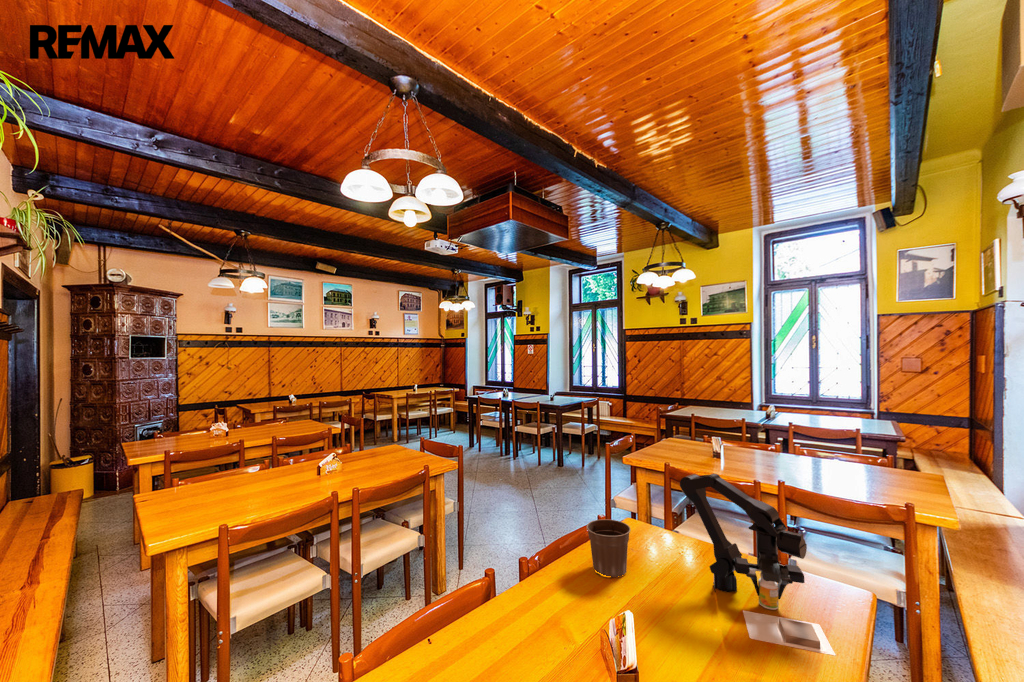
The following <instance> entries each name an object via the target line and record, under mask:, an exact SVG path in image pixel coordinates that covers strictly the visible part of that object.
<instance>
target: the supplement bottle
mask: <svg viewBox="0 0 1024 682" xmlns="http://www.w3.org/2000/svg"><path fill="white" fill-rule="evenodd" d="M759 576H760V577H759V579H757V582H758V588H759V596H758V604H759V605H760V606H762V607H763V608H764V609H766V610H767V609H768V610H771V611H772V610H774V611H775V610H778V609H779V606H780V603H779V599H778V583H776V582H773V581H765V580H764V579H763V577H762V572H761V571H760V575H759Z"/></svg>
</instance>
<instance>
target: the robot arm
mask: <svg viewBox="0 0 1024 682" xmlns="http://www.w3.org/2000/svg"><path fill="white" fill-rule="evenodd" d="M679 487H680V489H681V491H682V492H683V494H684V495H685V497H686V498H687V499H688V500H690V501H691V502H692V504H693V506H694V507H695V509H696V511H697V513H698V515H699V518H700V519H701V522H702V524H703V525H704V528H705V530H706V532H707V535H709V538H710V540H711V543H712V546H713V556H714V558H715V562H714V563H712V564H711V565H709V570H710V572H711V574H713V583H712V584H714V585H713V589H714V593H716V590H719V591H720V592H724V593H732V592H734V593H735V592H736V593H737V592H738V581H737V580H738V579H737V576H736V575H735V573H736V574H741V575H745V576H746V577H747V578H750V579H751V581H752V584H753V586H754V589H755V591H756V595H757V596H758V597H759V588H758V576H757V574H756V572H760V573H761V572H762V577H763V579H764V580H765V581H773V582H776V583H777V584H778V600H781V598H782V596H783V593H784V590H785V589H786V587H787V586H788V585H793V583H798V584H804V583H805V575H804V573H803V571H802V569H801V568H800V567H799V566H798V565H792V564H785V565H783V564H780V562H779V557H778V551H780V552H781V553H783V554H787V555H790V556H792V557H794V558H795V557H796V558H798V559H801V560H803V559H805V557H806V554H807V547H808V546H807V542H806V540H805V539H804V534H801V533H797V532H793V531H789V530H787V529H788V527H787V526H786V525H785V523H784V521H783V520H782V519H781V517H780V516H779V513H778V510H777V509H776V508H775V507H774V506H772V505H771V504H768V503H766V502H764V501H761V500H759V499H756V498H752V497H751V496H749V495H747V494H746V493H745V492H743V491H741V490H740V489H739V488H737V487H736V486H734V485H733V484H731V483H730V482H728V481H727V480H725V479H724V478H722V477H721V476H720V475H719V474H717V473H711V474H703V475H699V474H696V473H692V474H690V475H687V476H684V477H681V479H680V481H679ZM707 488H712V489H713V490H715V492H717V493H719V494H720V495H722V496H723V497H725V498H726V499H727V500H729V501H731V502H732V503H734V504H735V505H736V506H738V507H739V508H741V509H742V510H743V511H744V512H745V514H746V516H748V518H749V519H750V520H751V521H752V522H753V524H752V525H750V526H749V527H748V529H749V530H750V531H753V532H755V537H756V539H755V542H756V545H755V546H756V563H750V562H749V561H748V558H743V557H742V556H743V554H742V553H741V551H740V549H739V547H738V545H737V543H736V542H735V543H731V542H730V541H729V540H728V538H727V537H726V535H725V532H724V530H723V529H722V527H721V524H720V523H719V521H718V519H717V516H716V515H715V513H714V511H713V509H712V507H711V505H710V503H709V501H708V499H707ZM773 525H774V526H773Z"/></svg>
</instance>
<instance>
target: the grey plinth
mask: <svg viewBox="0 0 1024 682" xmlns="http://www.w3.org/2000/svg"><path fill="white" fill-rule="evenodd" d="M779 625H780V628H781V631H782V633H783V636H784V639H785V641H786V642H787V643H792V644H797V645H802V646H807V647H812V648H817V649H820V640H819V638H818V636H817V634H816V632H815V630H814V628H813V626H812V624H808V623H803V622H797V621H792V620H786V619H781V618H779Z"/></svg>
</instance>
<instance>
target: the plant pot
mask: <svg viewBox="0 0 1024 682" xmlns="http://www.w3.org/2000/svg"><path fill="white" fill-rule="evenodd" d="M586 530H587V535H588V539H589V541H590V552H591V558H592V566H593V567H594V569H595V570H596V571H597V572H599V573H601V574H603V575H606V576H611V577H613V578H617V577H618V576H622V575H624V574H625V573H626V574H627V566H628V564H627V563H628V550H629V549H628V547H629V546H628V545H629V540H630V533H631V527H630V525H628V524H627V523H625V522H623V521H620V520H616V519H606V518H603V519H601V518H600V519H595V520H592V521H589V522H588V523H587V524H586ZM593 567H592V568H593ZM594 569H593V570H594ZM626 574H625V575H626ZM625 575H624V576H625ZM622 577H623V576H622Z"/></svg>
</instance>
